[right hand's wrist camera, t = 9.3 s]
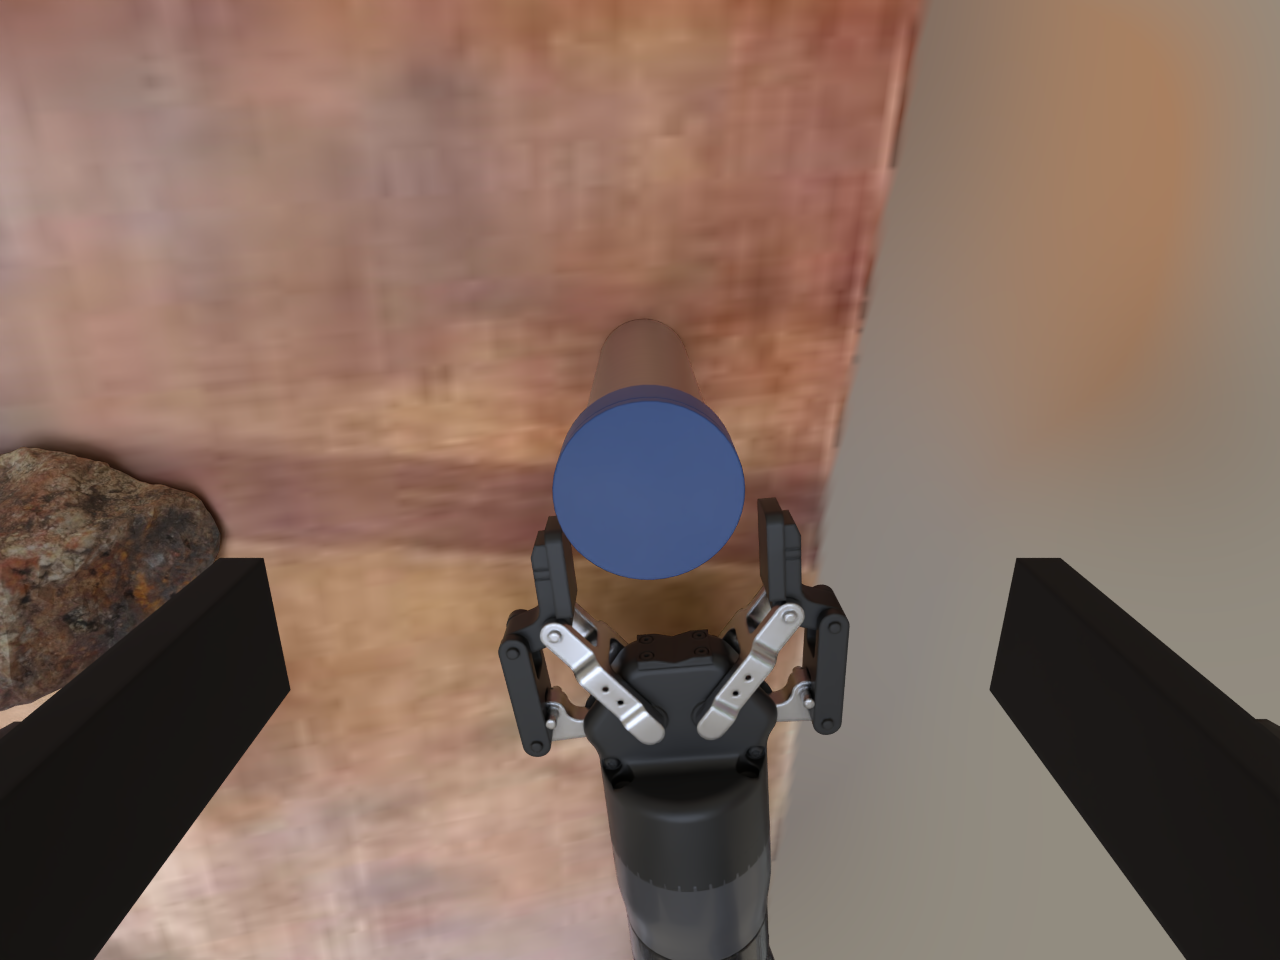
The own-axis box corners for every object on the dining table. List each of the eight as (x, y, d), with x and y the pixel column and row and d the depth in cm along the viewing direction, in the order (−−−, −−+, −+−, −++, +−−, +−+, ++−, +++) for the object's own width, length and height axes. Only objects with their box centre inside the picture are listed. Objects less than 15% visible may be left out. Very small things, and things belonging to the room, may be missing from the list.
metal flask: (703, 344, 32) (757, 455, 18) (662, 420, 34) (680, 583, 19) (623, 303, 32) (612, 382, 17) (584, 382, 33) (543, 520, 18)
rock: (229, 638, 39) (231, 467, 35) (139, 753, 31) (130, 547, 27) (-75, 600, 36) (-104, 414, 33) (-257, 714, 28) (-322, 484, 25)
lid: (768, 433, 19) (781, 455, 17) (683, 575, 20) (687, 608, 19) (607, 352, 18) (604, 365, 17) (530, 506, 20) (521, 533, 18)
